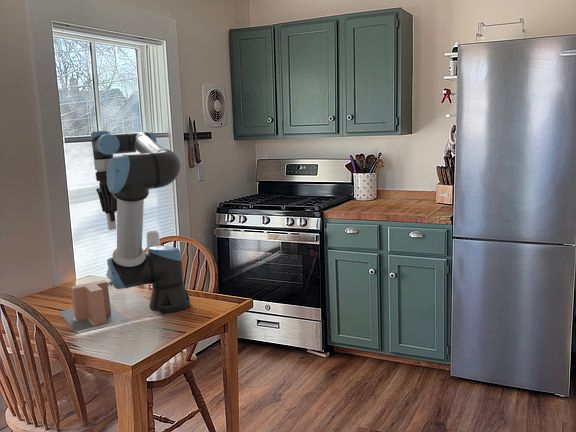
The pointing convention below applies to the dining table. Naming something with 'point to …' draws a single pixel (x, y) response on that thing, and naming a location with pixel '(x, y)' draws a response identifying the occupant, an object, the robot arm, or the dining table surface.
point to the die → (108, 275)
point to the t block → (91, 301)
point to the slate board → (87, 323)
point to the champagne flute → (152, 240)
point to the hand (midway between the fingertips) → (112, 229)
